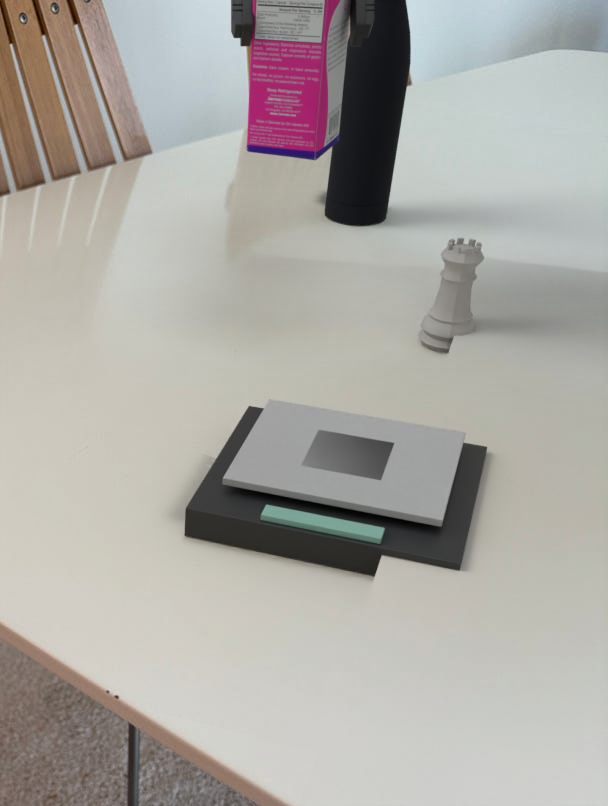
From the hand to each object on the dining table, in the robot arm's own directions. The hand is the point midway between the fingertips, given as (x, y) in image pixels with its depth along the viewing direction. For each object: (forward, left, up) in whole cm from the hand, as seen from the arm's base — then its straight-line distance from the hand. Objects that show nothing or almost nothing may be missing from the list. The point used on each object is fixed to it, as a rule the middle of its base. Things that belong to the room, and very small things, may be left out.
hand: (302, 39), depth 74 cm
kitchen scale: (-11, +26, -21) cm, 35 cm away
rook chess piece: (-14, -1, -21) cm, 25 cm away
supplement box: (0, -1, -8) cm, 8 cm away
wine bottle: (-1, -30, -21) cm, 37 cm away
